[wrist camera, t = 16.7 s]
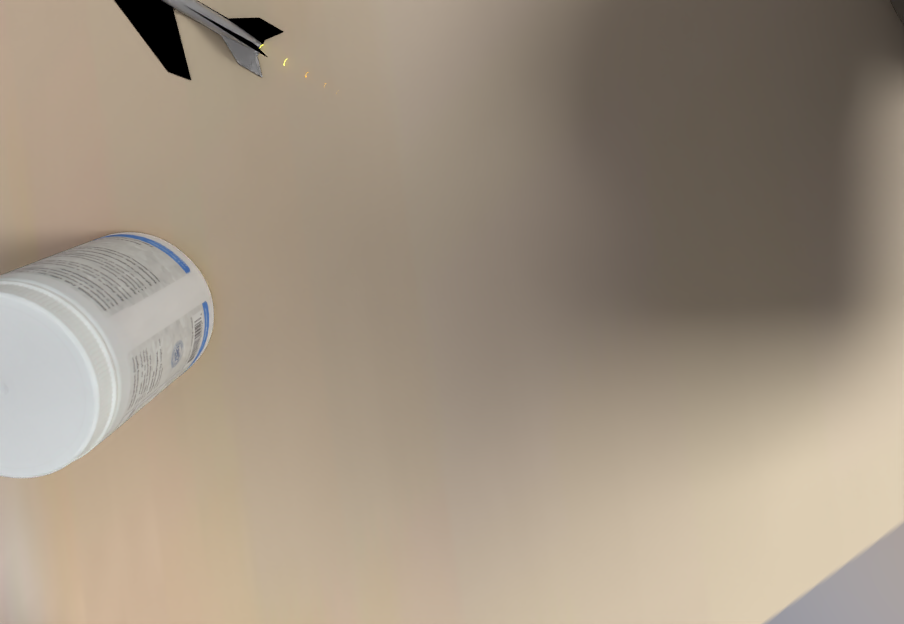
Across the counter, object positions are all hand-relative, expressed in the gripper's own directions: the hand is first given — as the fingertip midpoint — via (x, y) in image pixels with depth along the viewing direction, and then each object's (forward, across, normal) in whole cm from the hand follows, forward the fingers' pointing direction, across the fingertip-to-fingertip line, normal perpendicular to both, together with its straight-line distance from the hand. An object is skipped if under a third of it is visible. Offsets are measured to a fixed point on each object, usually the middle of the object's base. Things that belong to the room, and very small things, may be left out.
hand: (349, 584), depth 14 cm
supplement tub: (+36, -20, -10) cm, 43 cm away
